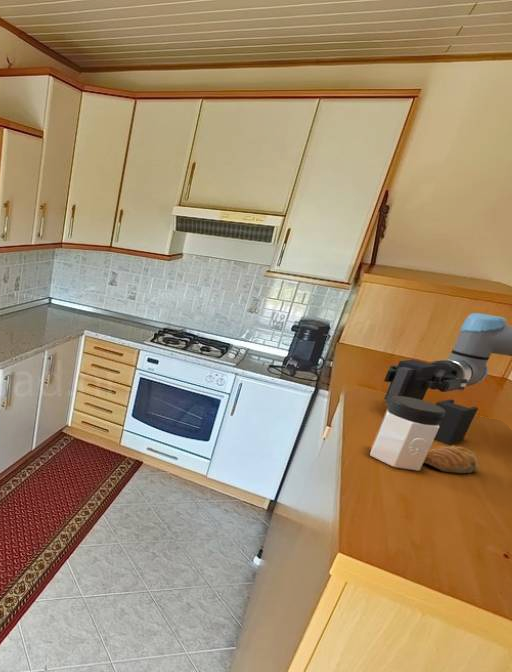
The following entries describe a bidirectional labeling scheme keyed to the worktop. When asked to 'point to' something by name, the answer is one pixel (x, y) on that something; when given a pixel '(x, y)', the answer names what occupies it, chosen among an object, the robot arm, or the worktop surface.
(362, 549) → the worktop surface
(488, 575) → the worktop surface
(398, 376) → the block
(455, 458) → the pastry
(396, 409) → the jar
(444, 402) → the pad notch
